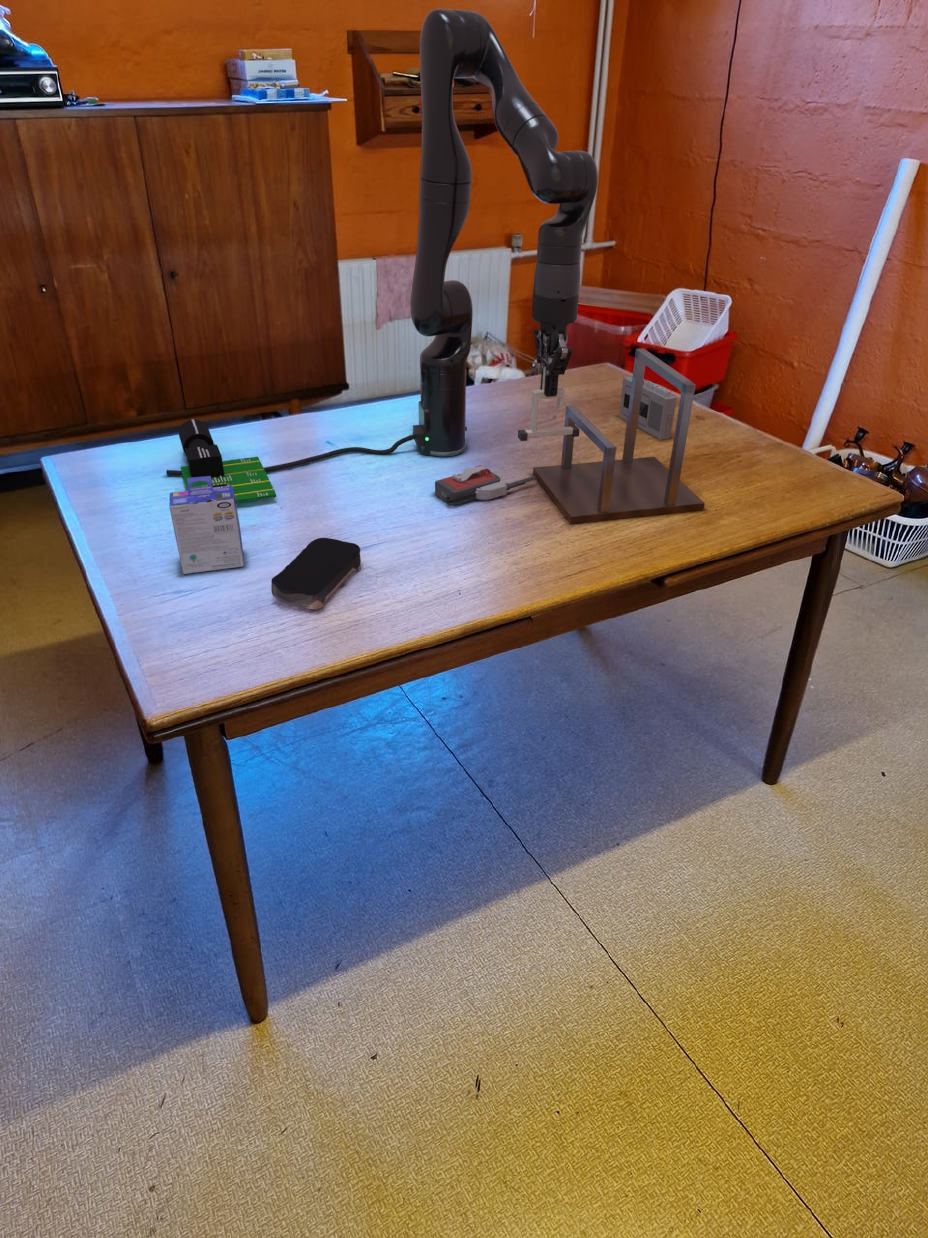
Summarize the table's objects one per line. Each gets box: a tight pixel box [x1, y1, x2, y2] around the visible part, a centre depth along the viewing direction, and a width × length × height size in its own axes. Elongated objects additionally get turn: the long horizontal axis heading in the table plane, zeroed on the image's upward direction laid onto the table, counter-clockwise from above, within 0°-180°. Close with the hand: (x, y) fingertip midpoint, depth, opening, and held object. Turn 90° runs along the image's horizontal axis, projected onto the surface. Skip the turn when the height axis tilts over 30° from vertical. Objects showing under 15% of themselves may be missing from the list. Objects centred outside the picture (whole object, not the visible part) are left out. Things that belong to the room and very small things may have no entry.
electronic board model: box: [178, 418, 277, 504], centre depth 164 cm, size 30×7×15 cm
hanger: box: [517, 367, 581, 442], centre depth 150 cm, size 11×2×13 cm, turn 104°
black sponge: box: [270, 537, 362, 610], centre depth 132 cm, size 16×8×4 cm, turn 160°
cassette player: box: [618, 375, 678, 441], centre depth 188 cm, size 16×3×10 cm, turn 27°
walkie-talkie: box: [434, 464, 537, 506], centre depth 161 cm, size 9×4×20 cm
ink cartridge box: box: [168, 476, 245, 575], centre depth 134 cm, size 10×6×14 cm, turn 107°
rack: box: [532, 348, 706, 525], centre depth 156 cm, size 26×22×24 cm
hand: (548, 393), depth 148 cm, fingers closed on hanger, 1 cm apart
